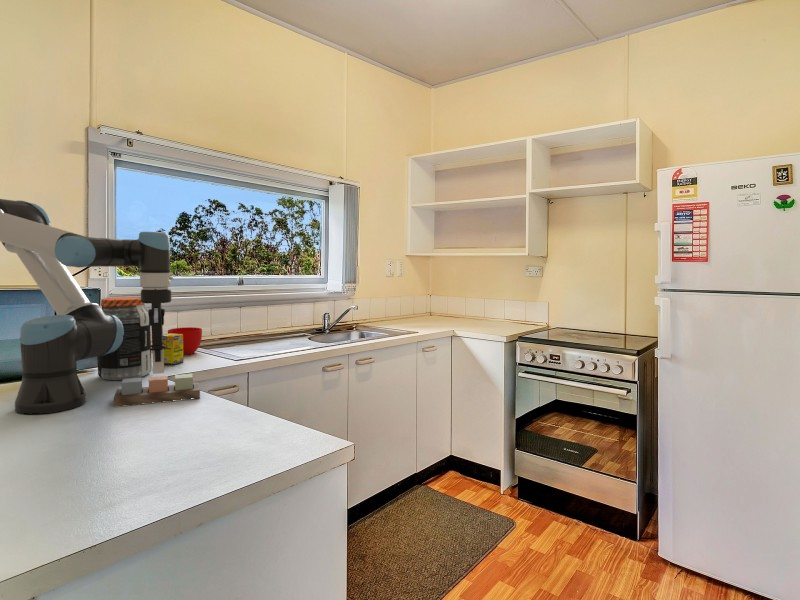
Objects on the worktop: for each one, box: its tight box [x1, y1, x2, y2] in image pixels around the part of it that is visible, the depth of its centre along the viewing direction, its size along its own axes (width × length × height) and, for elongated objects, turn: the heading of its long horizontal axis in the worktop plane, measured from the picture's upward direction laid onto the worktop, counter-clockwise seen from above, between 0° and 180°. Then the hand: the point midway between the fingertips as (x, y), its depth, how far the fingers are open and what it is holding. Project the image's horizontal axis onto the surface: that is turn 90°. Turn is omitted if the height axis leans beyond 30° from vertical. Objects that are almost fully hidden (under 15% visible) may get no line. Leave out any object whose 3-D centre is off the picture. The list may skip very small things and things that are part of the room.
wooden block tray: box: [113, 382, 201, 407], centre depth 136 cm, size 21×9×2 cm, turn 114°
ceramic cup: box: [167, 326, 203, 356], centre depth 199 cm, size 13×17×10 cm
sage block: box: [174, 373, 194, 390], centre depth 138 cm, size 5×5×4 cm
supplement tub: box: [96, 297, 153, 381], centre depth 161 cm, size 16×16×26 cm
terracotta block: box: [148, 375, 169, 393], centre depth 136 cm, size 5×5×4 cm
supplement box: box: [163, 333, 184, 366], centre depth 181 cm, size 6×6×11 cm
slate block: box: [120, 377, 143, 395], centre depth 133 cm, size 5×5×4 cm
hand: (158, 372), depth 135 cm, fingers closed
